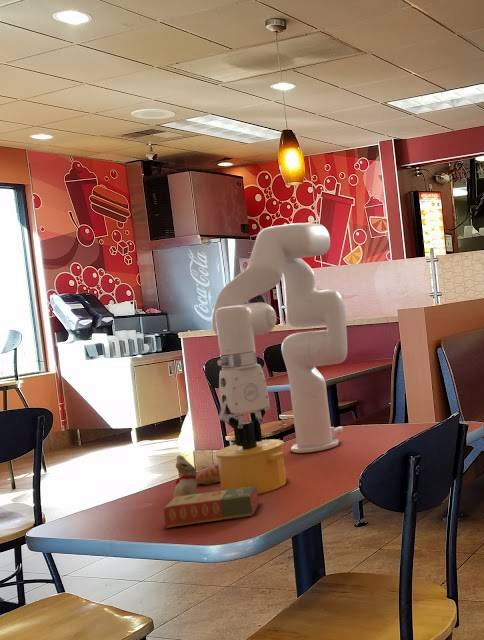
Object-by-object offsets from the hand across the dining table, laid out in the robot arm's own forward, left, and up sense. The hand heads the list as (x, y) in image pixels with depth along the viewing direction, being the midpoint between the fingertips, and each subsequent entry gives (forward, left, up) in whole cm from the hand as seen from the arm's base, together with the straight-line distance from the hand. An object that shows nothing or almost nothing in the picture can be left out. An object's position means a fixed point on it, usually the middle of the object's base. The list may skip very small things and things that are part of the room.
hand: (249, 442), depth 165 cm
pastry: (-3, -16, -10) cm, 19 cm away
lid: (0, 0, -2) cm, 2 cm away
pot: (0, 0, -10) cm, 10 cm away
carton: (+18, +10, -10) cm, 23 cm away
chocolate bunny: (+11, -9, -10) cm, 18 cm away
